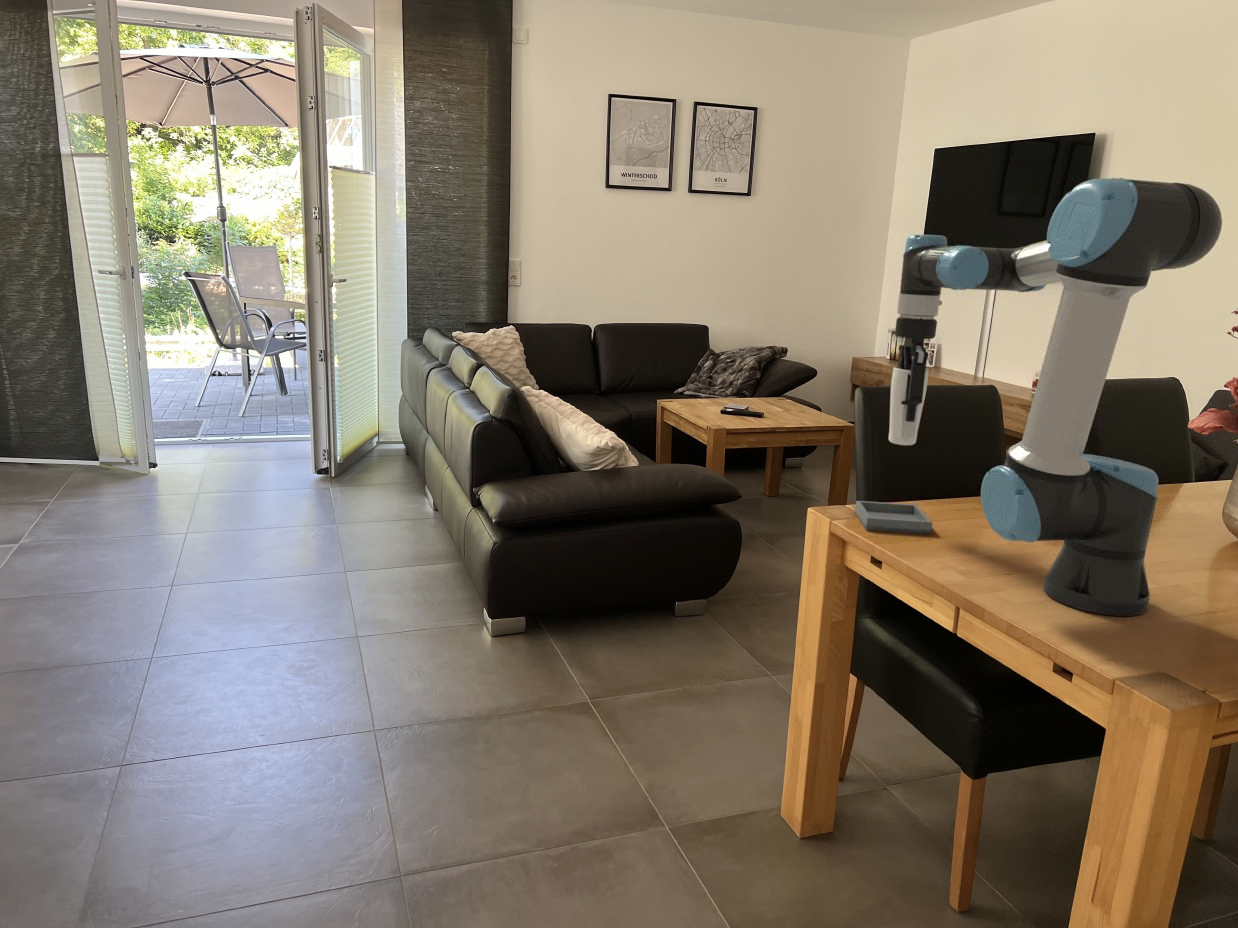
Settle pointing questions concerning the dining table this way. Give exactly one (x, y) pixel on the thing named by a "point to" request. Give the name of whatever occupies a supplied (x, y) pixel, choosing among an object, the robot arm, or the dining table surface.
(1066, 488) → the robot arm
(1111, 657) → the dining table surface
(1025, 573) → the dining table surface
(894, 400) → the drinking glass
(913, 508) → the tray
